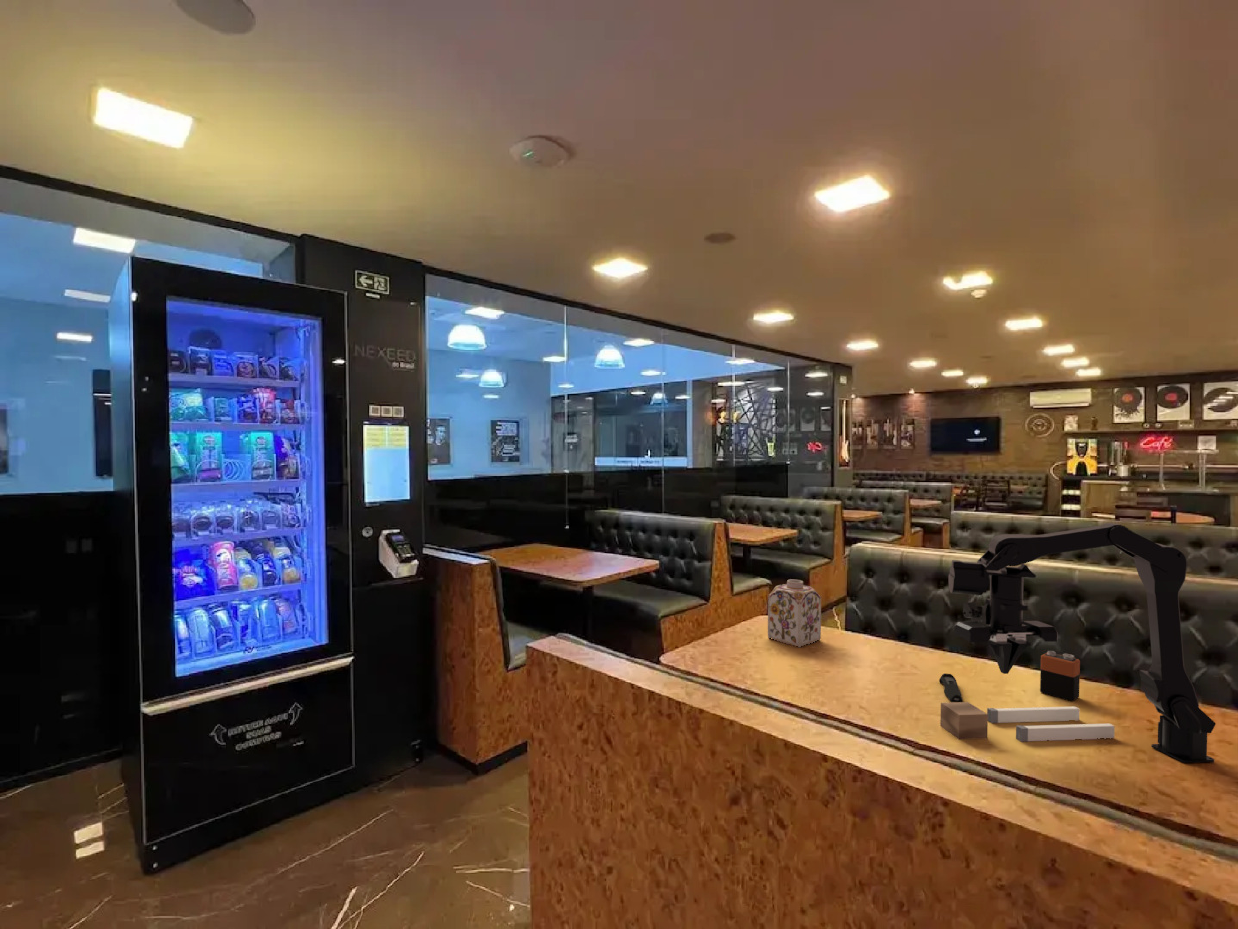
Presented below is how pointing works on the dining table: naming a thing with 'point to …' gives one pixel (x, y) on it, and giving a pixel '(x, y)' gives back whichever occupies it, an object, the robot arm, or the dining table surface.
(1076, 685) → the battery
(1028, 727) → the chute
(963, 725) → the walnut block
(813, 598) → the decorative jar
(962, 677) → the dining table surface
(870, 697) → the dining table surface
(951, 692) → the electric trimmer
